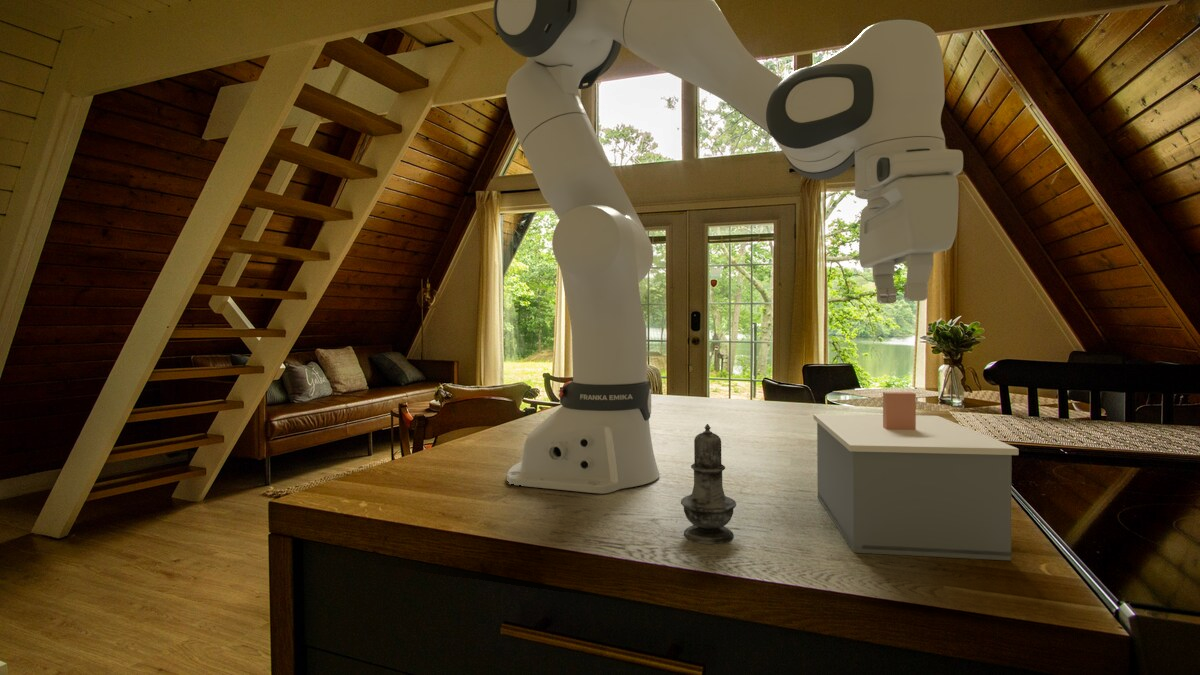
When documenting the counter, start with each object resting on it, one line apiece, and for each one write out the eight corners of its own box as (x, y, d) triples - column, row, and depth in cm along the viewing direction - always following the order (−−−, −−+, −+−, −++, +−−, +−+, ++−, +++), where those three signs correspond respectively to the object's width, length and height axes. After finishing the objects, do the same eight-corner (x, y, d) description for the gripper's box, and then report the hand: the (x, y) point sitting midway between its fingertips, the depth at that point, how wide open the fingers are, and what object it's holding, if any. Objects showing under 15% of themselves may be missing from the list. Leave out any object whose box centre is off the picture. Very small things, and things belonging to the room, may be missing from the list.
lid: (850, 451, 56) (849, 404, 56) (813, 418, 75) (813, 383, 75) (1018, 455, 54) (1018, 405, 54) (937, 420, 72) (937, 383, 72)
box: (853, 552, 57) (853, 451, 57) (817, 497, 75) (817, 420, 75) (1011, 560, 55) (1011, 455, 54) (935, 501, 72) (935, 421, 72)
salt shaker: (725, 549, 58) (724, 430, 58) (672, 538, 62) (670, 426, 61) (744, 531, 63) (743, 421, 63) (693, 521, 67) (692, 417, 66)
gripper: (845, 197, 74) (846, 305, 75) (898, 152, 54) (899, 300, 55) (898, 194, 73) (899, 304, 74) (972, 147, 53) (973, 298, 54)
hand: (900, 302), depth 64 cm, fingers open, 8 cm apart
